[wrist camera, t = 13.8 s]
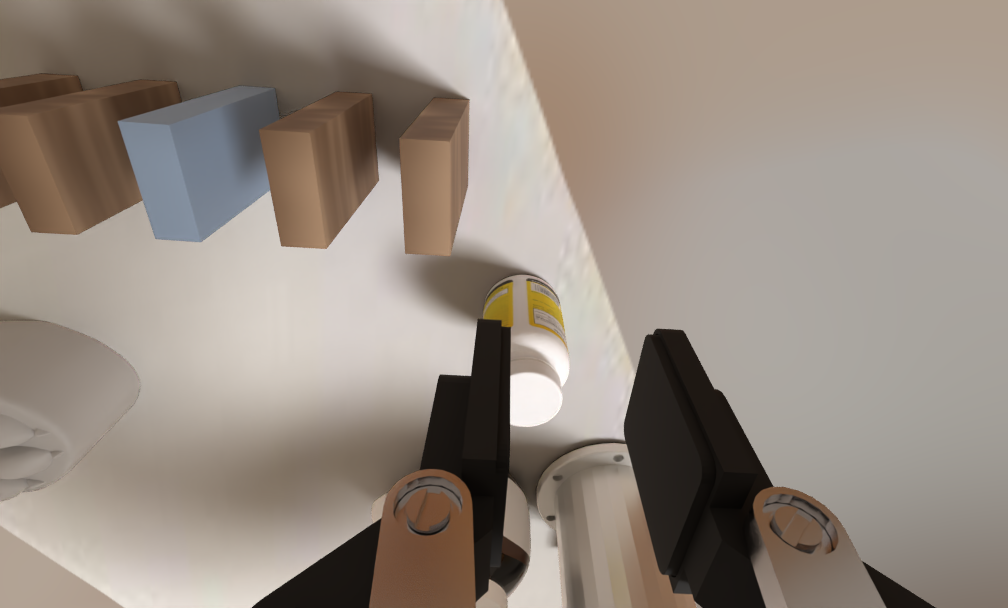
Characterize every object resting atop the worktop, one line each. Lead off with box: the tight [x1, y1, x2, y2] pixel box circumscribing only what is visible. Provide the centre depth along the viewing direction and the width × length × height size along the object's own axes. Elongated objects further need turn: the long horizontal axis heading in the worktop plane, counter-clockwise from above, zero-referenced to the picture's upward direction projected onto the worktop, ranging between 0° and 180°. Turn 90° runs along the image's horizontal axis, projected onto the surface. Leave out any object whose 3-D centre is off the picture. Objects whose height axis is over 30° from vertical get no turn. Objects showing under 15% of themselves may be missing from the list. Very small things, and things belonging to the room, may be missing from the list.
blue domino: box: [118, 86, 280, 242], centre depth 25 cm, size 2×5×10 cm, turn 176°
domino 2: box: [0, 80, 182, 235], centre depth 25 cm, size 2×5×10 cm, turn 177°
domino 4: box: [399, 98, 469, 256], centre depth 25 cm, size 2×5×10 cm, turn 177°
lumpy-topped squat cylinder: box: [0, 320, 140, 501], centre depth 36 cm, size 10×13×9 cm
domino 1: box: [0, 73, 83, 208], centre depth 25 cm, size 2×5×10 cm, turn 177°
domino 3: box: [259, 92, 379, 249], centre depth 25 cm, size 2×5×10 cm, turn 177°
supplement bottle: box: [483, 275, 570, 427], centre depth 31 cm, size 5×5×10 cm
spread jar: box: [371, 474, 531, 608], centre depth 40 cm, size 12×11×12 cm
